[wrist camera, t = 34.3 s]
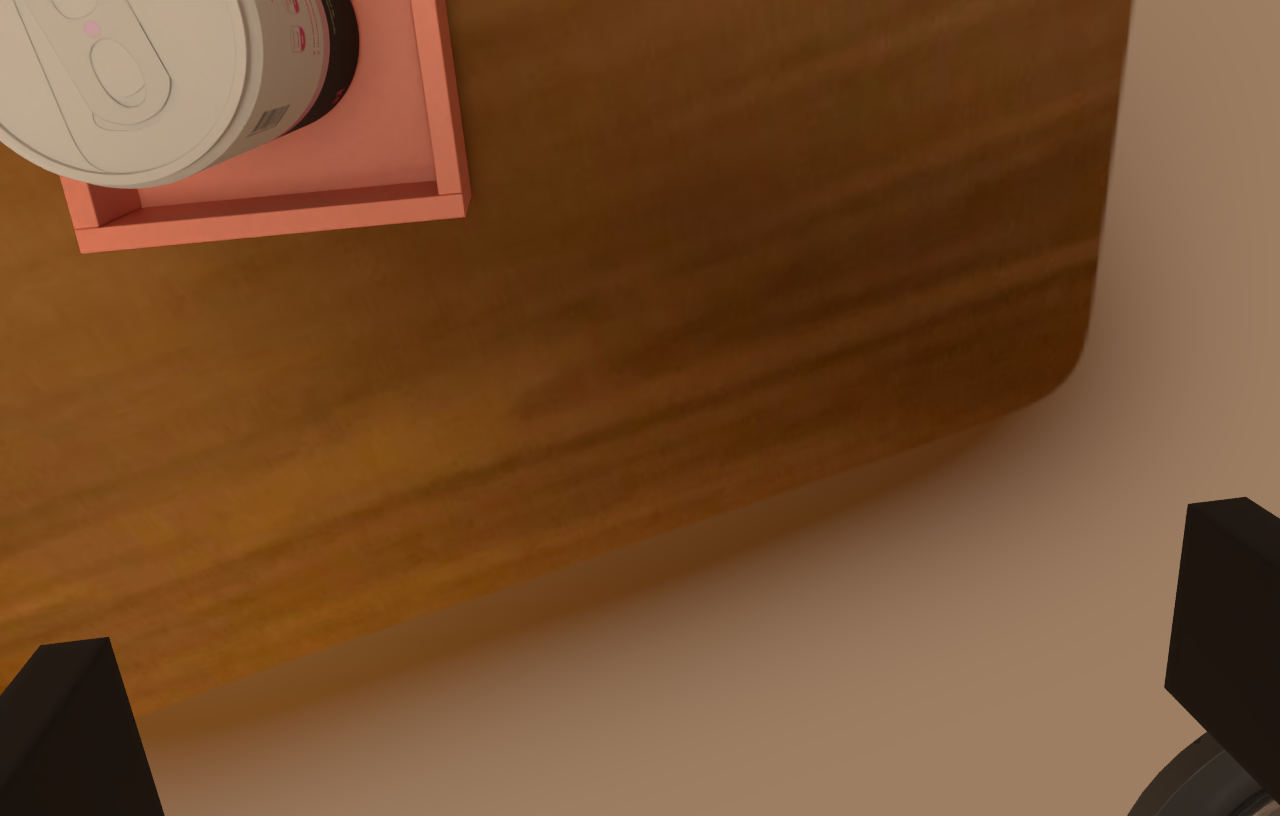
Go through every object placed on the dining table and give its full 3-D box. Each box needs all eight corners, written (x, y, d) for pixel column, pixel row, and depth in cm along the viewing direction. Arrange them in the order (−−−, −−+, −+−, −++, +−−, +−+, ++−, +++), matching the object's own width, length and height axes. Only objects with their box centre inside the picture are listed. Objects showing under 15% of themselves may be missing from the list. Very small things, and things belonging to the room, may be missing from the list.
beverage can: (228, 159, 36) (42, 240, 22) (127, -25, 34) (-152, -63, 20) (394, 87, 36) (311, 123, 22) (304, -103, 34) (147, -197, 20)
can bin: (472, 196, 38) (465, 217, 34) (130, 229, 37) (80, 254, 33) (420, -182, 34) (405, -212, 29) (30, -156, 33) (-42, -184, 29)
